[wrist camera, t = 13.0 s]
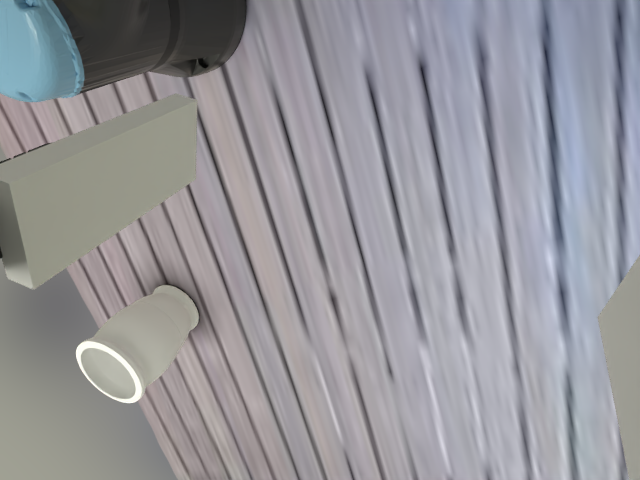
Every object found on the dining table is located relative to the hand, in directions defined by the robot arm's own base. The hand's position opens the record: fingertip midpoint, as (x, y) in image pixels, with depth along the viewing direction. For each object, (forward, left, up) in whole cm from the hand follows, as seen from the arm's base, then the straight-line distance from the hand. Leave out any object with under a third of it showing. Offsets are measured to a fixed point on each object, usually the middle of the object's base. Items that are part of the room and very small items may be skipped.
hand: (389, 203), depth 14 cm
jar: (-29, -48, -34) cm, 66 cm away
